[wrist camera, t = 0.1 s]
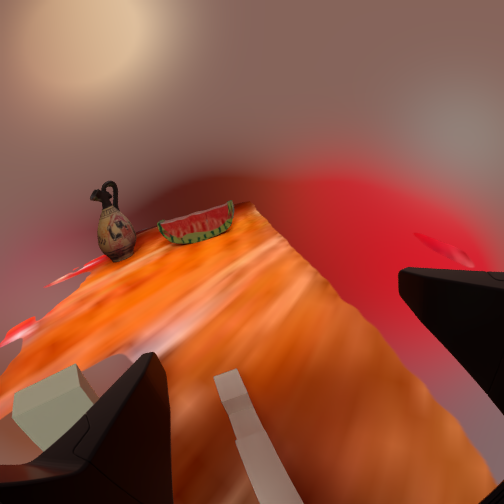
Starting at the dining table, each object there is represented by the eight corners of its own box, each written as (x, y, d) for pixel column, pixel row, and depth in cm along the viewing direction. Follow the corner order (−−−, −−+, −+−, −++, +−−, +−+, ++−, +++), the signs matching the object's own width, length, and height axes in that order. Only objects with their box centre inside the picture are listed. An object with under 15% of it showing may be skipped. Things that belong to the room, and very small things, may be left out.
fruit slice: (238, 226, 100) (231, 199, 97) (240, 230, 94) (232, 201, 91) (168, 246, 99) (160, 220, 96) (165, 251, 93) (156, 223, 90)
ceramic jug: (117, 266, 92) (91, 185, 83) (100, 265, 101) (76, 193, 91) (152, 247, 105) (129, 173, 96) (131, 248, 114) (110, 182, 104)
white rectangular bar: (323, 540, 10) (321, 532, 9) (290, 553, 10) (280, 548, 8) (247, 394, 27) (236, 368, 26) (225, 402, 26) (213, 376, 25)
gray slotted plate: (156, 463, 19) (75, 363, 15) (169, 484, 17) (79, 385, 13) (107, 486, 16) (14, 393, 12) (117, 509, 14) (12, 417, 10)
